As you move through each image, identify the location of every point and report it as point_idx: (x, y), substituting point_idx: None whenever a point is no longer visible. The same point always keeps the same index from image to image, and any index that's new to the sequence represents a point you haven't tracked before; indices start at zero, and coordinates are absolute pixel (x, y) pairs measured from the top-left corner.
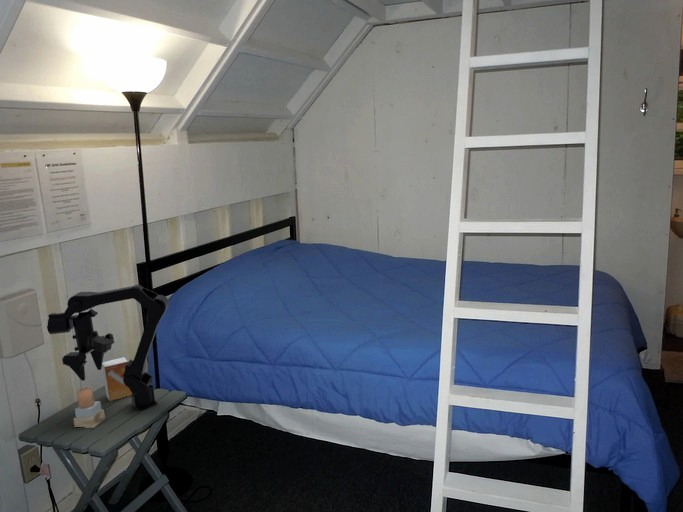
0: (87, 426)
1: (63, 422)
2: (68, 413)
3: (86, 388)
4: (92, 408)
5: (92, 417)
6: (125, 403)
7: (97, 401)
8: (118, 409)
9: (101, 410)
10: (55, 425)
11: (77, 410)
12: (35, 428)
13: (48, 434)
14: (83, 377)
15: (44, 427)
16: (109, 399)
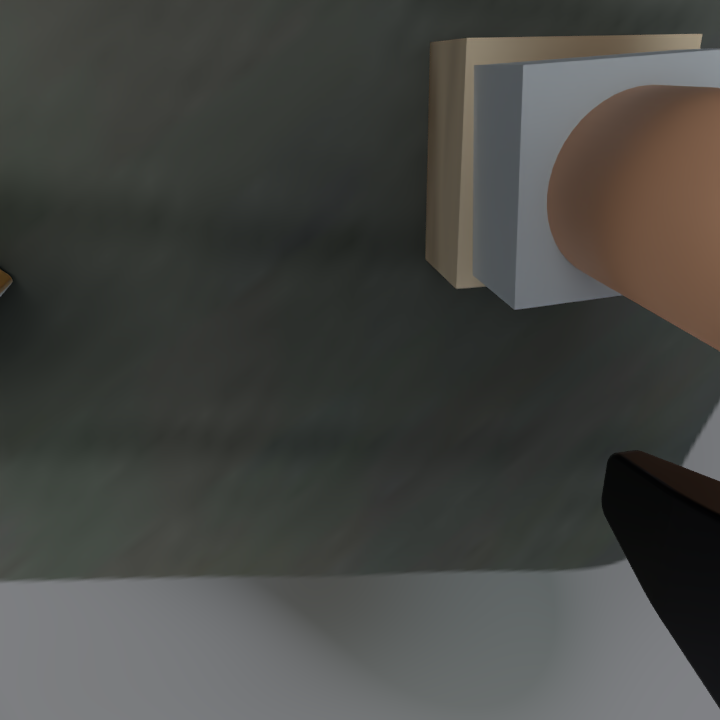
0: None
1: (488, 427)
2: (324, 509)
3: (702, 277)
4: (713, 49)
5: (670, 49)
6: (12, 19)
7: (531, 105)
8: (195, 12)
9: (493, 53)
10: (535, 452)
11: None
12: (566, 558)
13: (678, 394)
14: (709, 484)
15: (558, 509)
16: (6, 287)
